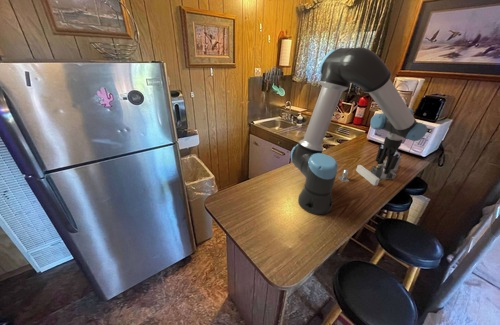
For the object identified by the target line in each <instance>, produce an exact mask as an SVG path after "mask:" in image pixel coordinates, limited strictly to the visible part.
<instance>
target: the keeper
mask: <svg viewBox="0 0 500 325" xmlns="http://www.w3.org/2000/svg"><path fill="white" fill-rule="evenodd" d="M367 170H368V171H370V172H371V170H369V169H367ZM371 173H372V172H371ZM372 174H373V175H375V174H374V173H372ZM375 176H376V175H375ZM396 176H397V173H396V172H392V171H390V174H389V176H388V178H379V179H380V180H379V181H381V180H382V181H383V180H395V179H396Z"/></svg>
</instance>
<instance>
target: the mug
mask: <svg viewBox="0 0 500 325" xmlns="http://www.w3.org/2000/svg"><path fill="white" fill-rule="evenodd" d="M402 158H403V157H402V155H401V157H400V158H399V159H398V161H397V163H396V166H395V168H394V169H392V170H391V171H392V172H394V173H396V172H397V171H399V165H400V164H401V160H402ZM386 162H387V159H386V160H384V162H383V166H386Z"/></svg>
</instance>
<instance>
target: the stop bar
mask: <svg viewBox="0 0 500 325" xmlns="http://www.w3.org/2000/svg"><path fill="white" fill-rule="evenodd" d="M385 167H386V166H379V165H377V164H376V165H374V166H372V167H371V170H370V171H371V172H372V173H374V174H375V175H376V177H377V178H380V176H381V174H382V171H383V169H384V168H385ZM390 171H391V170H389V172H388V174H387V175H386V177H385V178H388V176H389V174H390Z"/></svg>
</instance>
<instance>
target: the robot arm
mask: <svg viewBox="0 0 500 325" xmlns="http://www.w3.org/2000/svg"><path fill="white" fill-rule="evenodd" d="M319 71H320V76H321V78H320V81H319V83H320V85H321V88H320V92H319V93H318V94H319V95H318V97H317V99H316V101H315V102H316V103H315V105H314V108H313V111H312V114H311V116H310V120H309V122H308V124H307V128H306V130H305V131H306V132H305V133H304V136H303V138H302V139H301V140H299V141H298V143H297V144H296V145H295V146H293V147H292V149H291V151H290V161H291V162H292V164H293V165H294V167H296V168H297V169H298V171H300V172H301V174H302V175H303V176H304V177H305V182H304V186H303V189H301V191H300V193H299V195H298V199H297V202H298V205H299V207H301V209H302V210H304V211H306V212H308V213H309V214H315V215H325V214H328V213H330V211H332V208H333V197H332V190H333V187H334V183H335V180H336V177H337V174H338V167H339V166H338V162H337V161H336V159H335V158H334V157H332V156H331V155H327V154H325V153H323V151H324V147H323V145H322V144H323V142H324V139H325V136H326V134H327V131H328V129H329V126H330V124H331V121H332V119H333V117H334V114H335V111H336V109H337V107H338V103H339V102H340V99H341V96H342V94H343V93H344V92H345V91H346V90H348V89H349V88H350V85H351V84H353V85H356V86H357V87H359V88H360V89H361V90H362V92H363V93H365V94H369V96H370V97H371V98H372V99H373V101H374V102H375V104H376V106H377V107H378V108H379V109H380V111H382V112H381V113H376V114H374V115H373V116H372V117H371V119H370V127H371V128H372V129H373V130H384V131H386V132H387V133H386V135H385V136H386V137H385V138H384V141H383V144H379V145H378V150H377V154H376V158H375V161H376V163H377V164H376V165H379V166H383V165H384V163H383V162H384V161H386V160H387V162H386V167H385V168H384V169H383V171H382V174H381V176H380V178H385V177H386V175H387V174H388V172H389V170H392V169H394V168H395V166H396V163H397V161H398V159H399V158H400V157H401V156H402V153H400V152H399V148H400V147H401V145H402V142H403V140H404V139H406V140H409V141H412V142H417V141H420V140H421V139H423V138H424V137H425V136H426V134H427V132H428V126H427V125H426V124H424V123H422V122H418V121H417V120H416V119H415V116H414V110H413V109H412V108H410V107H408V105H407V104H406V102H405V100H403V97H402V96H401V94H400V93H399V91H398V89H397V88H396V86H395V84H394V83H393V81H392V80H391V78H392V72H391V71H390V70H389V68H388V66H387V65H386V64H385V62H384V61H383V60H382V58H381V57H379V56H378V55H377V54H376V53H375V52H374V51H372V50H371V49H369V48H366V47H361V46H360V47H339V48H337V49H335V48H334V49H333V50H330V51H329V52H328V53H326V54H325V55H324V57H323V58H322V60H321V62H320V65H319ZM385 159H386V160H385Z"/></svg>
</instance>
